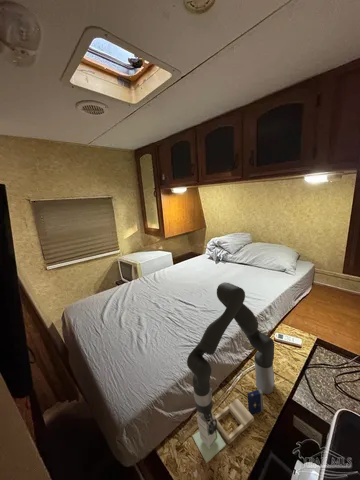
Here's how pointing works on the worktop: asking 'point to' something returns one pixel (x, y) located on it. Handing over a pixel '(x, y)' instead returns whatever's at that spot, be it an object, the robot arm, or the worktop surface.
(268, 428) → the worktop surface
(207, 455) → the sage mat
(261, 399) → the cassette player
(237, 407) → the wooden frame
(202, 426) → the syrup box
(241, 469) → the worktop surface
